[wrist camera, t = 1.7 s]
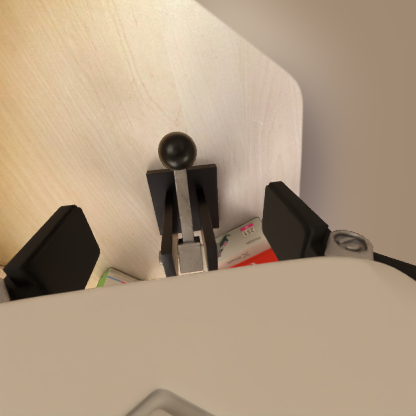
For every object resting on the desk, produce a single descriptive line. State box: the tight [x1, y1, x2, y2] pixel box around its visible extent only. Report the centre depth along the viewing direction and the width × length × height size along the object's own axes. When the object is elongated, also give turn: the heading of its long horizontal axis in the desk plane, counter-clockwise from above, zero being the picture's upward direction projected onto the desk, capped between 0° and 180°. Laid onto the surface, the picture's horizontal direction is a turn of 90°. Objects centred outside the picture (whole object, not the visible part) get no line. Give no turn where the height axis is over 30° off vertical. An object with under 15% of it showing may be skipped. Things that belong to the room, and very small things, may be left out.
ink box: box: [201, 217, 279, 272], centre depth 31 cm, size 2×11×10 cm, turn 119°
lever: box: [158, 132, 204, 274], centre depth 20 cm, size 13×4×4 cm, turn 4°
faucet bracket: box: [146, 164, 221, 277], centre depth 25 cm, size 10×9×13 cm
